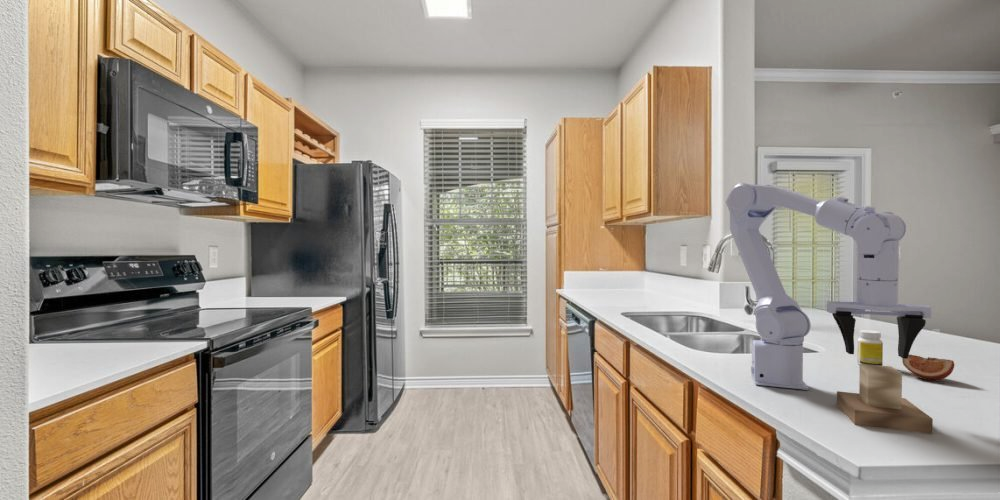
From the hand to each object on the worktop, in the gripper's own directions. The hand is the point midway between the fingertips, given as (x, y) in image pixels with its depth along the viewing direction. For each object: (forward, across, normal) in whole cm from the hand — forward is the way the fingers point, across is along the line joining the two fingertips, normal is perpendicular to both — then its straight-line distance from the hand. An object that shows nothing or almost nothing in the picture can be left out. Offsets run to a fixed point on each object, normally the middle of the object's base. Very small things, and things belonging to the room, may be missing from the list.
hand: (875, 355), depth 82 cm
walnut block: (+10, 0, -5) cm, 11 cm away
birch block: (+7, -1, -4) cm, 9 cm away
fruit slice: (+10, +17, +28) cm, 34 cm away
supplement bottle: (+10, +9, +36) cm, 38 cm away
